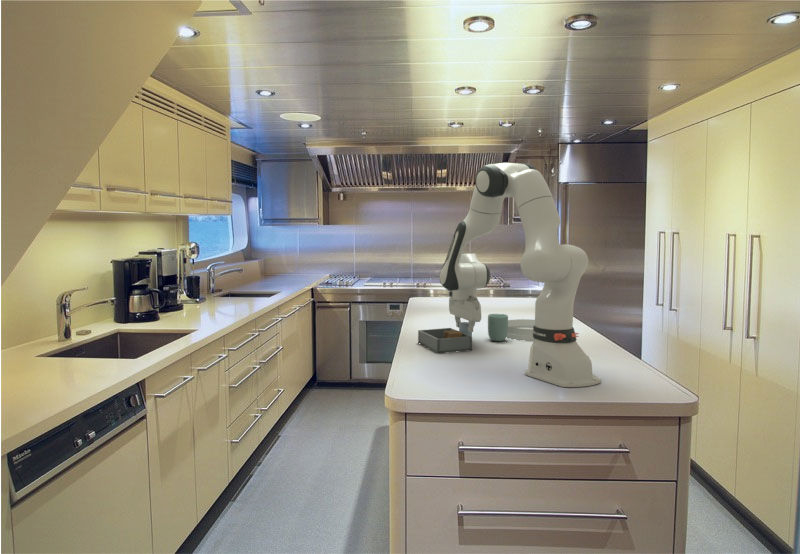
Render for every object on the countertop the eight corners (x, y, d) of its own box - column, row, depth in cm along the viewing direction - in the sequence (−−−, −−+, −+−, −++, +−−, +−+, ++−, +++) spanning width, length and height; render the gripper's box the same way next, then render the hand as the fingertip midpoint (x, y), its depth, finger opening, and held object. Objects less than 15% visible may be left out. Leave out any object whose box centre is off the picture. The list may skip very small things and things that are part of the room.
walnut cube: (462, 346, 193) (462, 332, 192) (449, 347, 191) (449, 333, 190) (455, 343, 197) (456, 330, 197) (443, 344, 195) (443, 331, 195)
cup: (506, 338, 209) (507, 313, 208) (508, 343, 201) (509, 317, 200) (486, 338, 210) (487, 313, 209) (488, 342, 202) (488, 316, 201)
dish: (563, 342, 204) (563, 329, 203) (506, 342, 204) (506, 329, 204) (548, 330, 226) (548, 319, 225) (497, 330, 226) (497, 319, 226)
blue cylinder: (474, 341, 203) (474, 323, 203) (462, 342, 202) (462, 324, 201) (468, 339, 208) (468, 321, 207) (456, 340, 206) (456, 322, 206)
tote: (471, 350, 189) (472, 336, 189) (437, 353, 185) (437, 339, 184) (450, 340, 206) (450, 327, 205) (418, 343, 201) (418, 330, 200)
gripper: (486, 297, 195) (485, 334, 196) (460, 290, 214) (459, 324, 215) (470, 298, 192) (470, 335, 194) (446, 291, 211) (445, 325, 213)
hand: (464, 329), depth 205 cm, fingers open, 8 cm apart
